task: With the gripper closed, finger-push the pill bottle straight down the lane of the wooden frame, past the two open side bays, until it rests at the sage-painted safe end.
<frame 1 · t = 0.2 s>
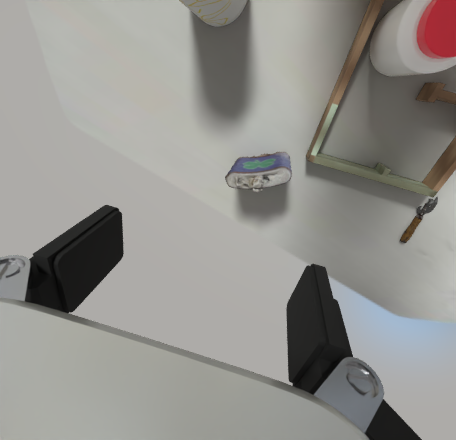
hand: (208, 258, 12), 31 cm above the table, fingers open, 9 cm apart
flask: (261, 161, 40), on the table
pill bottle: (403, 40, 29), resting in wooden frame
wooden frame: (411, 88, 31), on the table
can opener: (416, 218, 40), on the table
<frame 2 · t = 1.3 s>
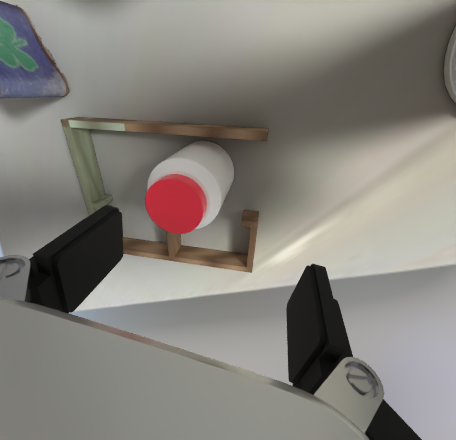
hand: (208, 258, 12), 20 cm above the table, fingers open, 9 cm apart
flask: (42, 54, 27), on the table
pill bottle: (205, 170, 31), resting in wooden frame
wooden frame: (174, 194, 33), on the table
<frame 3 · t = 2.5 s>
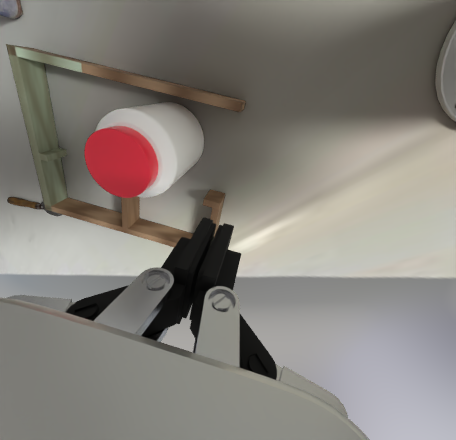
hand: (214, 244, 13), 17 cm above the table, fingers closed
pill bottle: (173, 138, 28), resting in wooden frame
wooden frame: (136, 160, 30), on the table
can opener: (39, 204, 38), on the table
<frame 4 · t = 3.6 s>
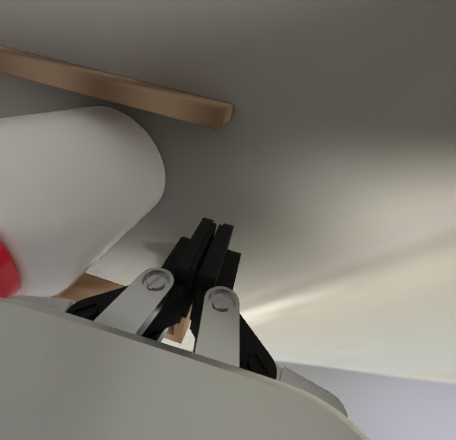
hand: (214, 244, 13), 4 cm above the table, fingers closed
pill bottle: (116, 165, 17), resting in wooden frame
wooden frame: (66, 196, 19), on the table
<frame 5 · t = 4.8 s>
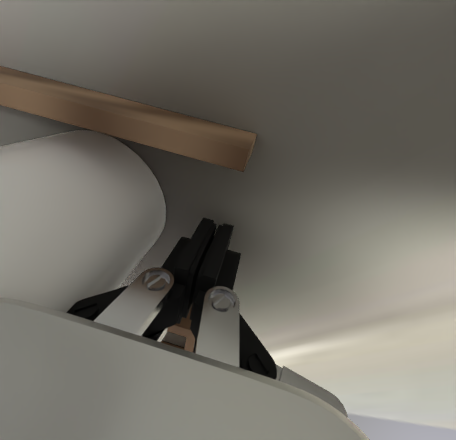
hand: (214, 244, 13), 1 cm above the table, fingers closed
pill bottle: (106, 197, 14), resting in wooden frame, touching gripper
wooden frame: (49, 230, 16), on the table
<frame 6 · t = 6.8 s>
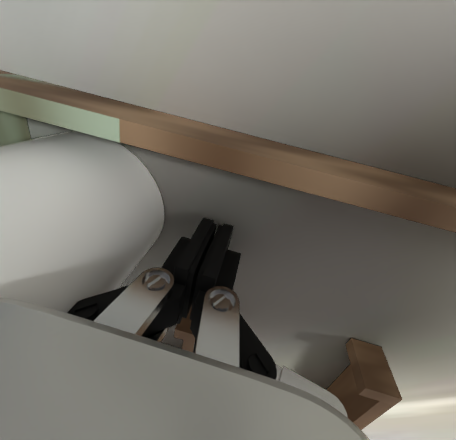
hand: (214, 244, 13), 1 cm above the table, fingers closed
pill bottle: (104, 198, 14), resting in wooden frame, touching gripper
wooden frame: (208, 282, 15), on the table
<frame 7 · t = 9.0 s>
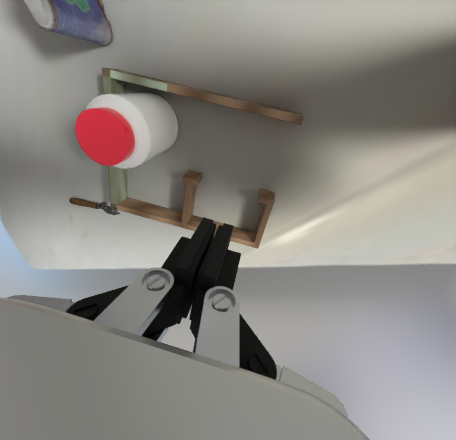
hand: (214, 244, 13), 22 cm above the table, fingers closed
pill bottle: (152, 123, 33), resting in wooden frame
wooden frame: (197, 164, 34), on the table
can opener: (97, 204, 42), on the table
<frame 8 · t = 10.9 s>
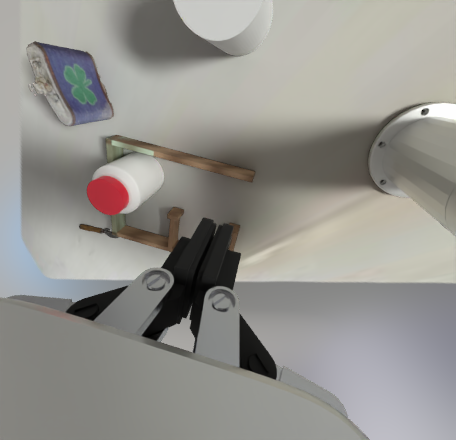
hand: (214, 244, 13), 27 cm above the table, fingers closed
flask: (98, 87, 36), on the table
pill bottle: (144, 172, 42), resting in wooden frame
cup: (239, 16, 29), on the table
wooden frame: (179, 202, 44), on the table
can opener: (101, 229, 51), on the table
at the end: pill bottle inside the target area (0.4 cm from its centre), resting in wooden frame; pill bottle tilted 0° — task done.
